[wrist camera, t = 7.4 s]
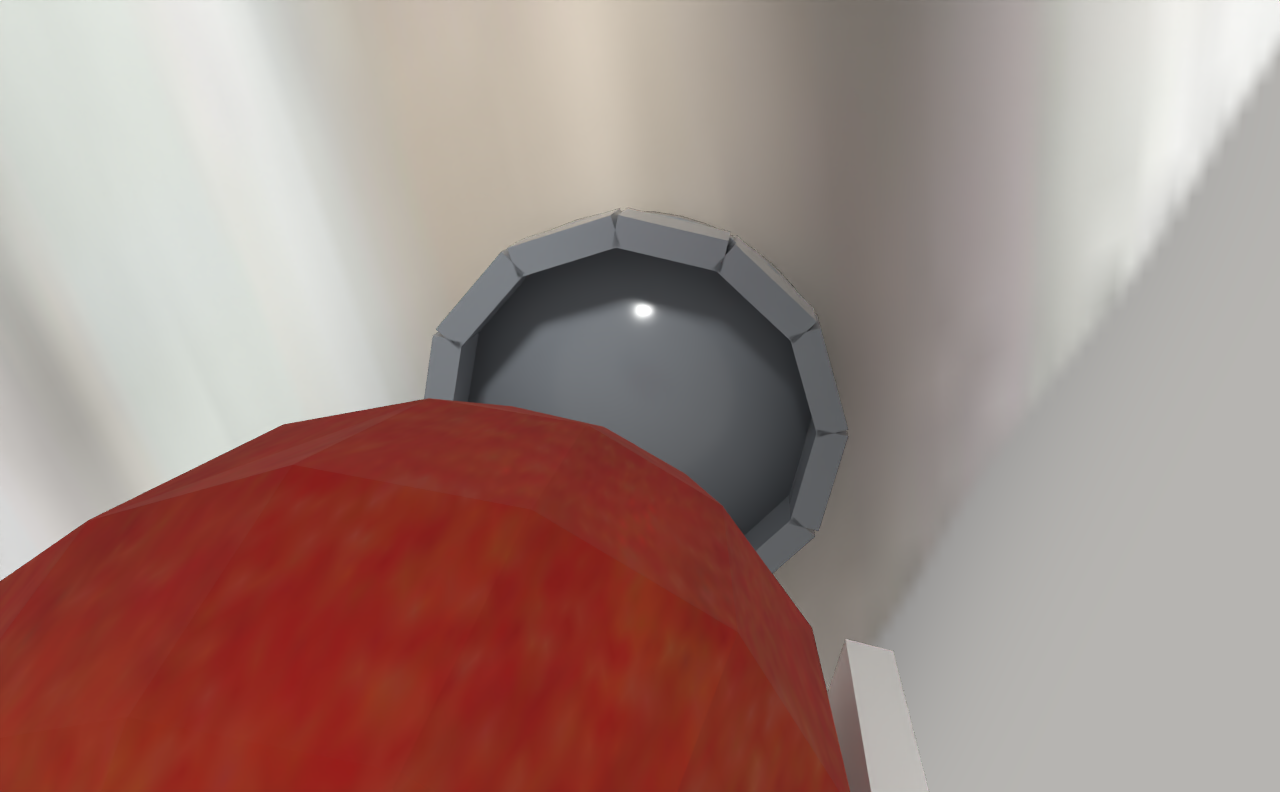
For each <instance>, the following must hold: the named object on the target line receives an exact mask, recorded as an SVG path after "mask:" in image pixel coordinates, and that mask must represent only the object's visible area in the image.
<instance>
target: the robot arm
mask: <svg viewBox="0 0 1280 792" xmlns="http://www.w3.org/2000/svg"><path fill="white" fill-rule="evenodd" d="M827 694H828V699H829V703H830V707H831V711H832V716H833V720H834V724H835V728H836V733H837V737H838V741H839V745H840V750H841V754H842V758H843V762H844V767H845V771H846V775H847V779H848V784H849V788H850V792H929V789H928V785H927V782H926V777H925V773H924V770H923V765H922V761H921V757H920V754H919V750H918V745H917V742H916V738H915V734H914V730H913V726H912V722H911V718H910V714H909V710H908V706H907V702H906V699H905V694H904V690H903V687H902V683H901V679H900V675H899V671H898V667H897V663H896V659H895V655H894V652H893V651H892V650H887V649H884V648H880V647H876V646H872V645H868V644H864V643H860V642H856V641H852V640H848V639H845V642H844V645H843V648H842V651H841V654H840V657H839V660H838V663H837V666H836V669H835V672H834V675H833V678H832V681H831V684H830V687H829V690H828V693H827Z"/></svg>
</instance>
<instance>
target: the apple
mask: <svg viewBox="0 0 1280 792" xmlns="http://www.w3.org/2000/svg"><path fill="white" fill-rule="evenodd" d="M0 792H850V788H849V784H848V779H847V775H846V771H845V767H844V762H843V758H842V754H841V750H840V745H839V741H838V737H837V733H836V728H835V724H834V720H833V716H832V711H831V707H830V703H829V699H828V694H827V690H826V686H825V681H824V677H823V673H822V669H821V664H820V660H819V656H818V652H817V647H816V643H815V639H814V635H813V630H812V627H811V626H810V625H809V623H808V622H807V621H806V619H805V618H804V616H803V615H802V614H801V612H800V611H799V610H798V608H797V607H796V606H795V604H794V603H793V601H792V600H791V599H790V597H789V596H788V595H787V593H786V592H785V591H784V589H783V588H782V586H781V585H780V584H779V582H778V581H777V580H776V578H775V577H774V575H773V574H772V573H771V571H770V570H769V569H768V567H767V566H766V565H765V563H764V562H763V560H762V559H761V558H760V556H759V555H758V554H757V552H756V551H755V550H754V548H753V547H752V545H751V544H750V543H749V541H748V540H747V539H746V537H745V536H744V534H743V533H742V532H741V530H740V529H739V528H738V526H737V525H736V524H735V522H734V521H733V519H732V518H731V517H730V515H729V514H728V513H727V511H726V510H725V509H724V507H723V506H722V505H721V504H720V503H719V502H718V501H716V500H715V499H714V498H713V497H712V496H711V495H709V494H708V493H707V492H706V491H705V490H704V489H703V488H701V487H700V486H699V485H698V484H697V483H696V482H694V481H693V480H692V479H691V478H690V477H689V476H687V475H686V474H685V473H683V472H681V471H680V470H678V469H676V468H675V467H673V466H671V465H669V464H668V463H666V462H664V461H662V460H661V459H659V458H657V457H655V456H654V455H652V454H650V453H649V452H647V451H645V450H643V449H642V448H640V447H638V446H636V445H635V444H633V443H631V442H630V441H628V440H626V439H624V438H623V437H621V436H619V435H617V434H616V433H614V432H612V431H610V430H609V429H607V428H605V427H603V426H598V425H594V424H589V423H585V422H580V421H576V420H571V419H567V418H562V417H558V416H554V415H549V414H545V413H540V412H536V411H531V410H527V409H522V408H518V407H513V406H504V405H494V404H483V403H473V402H463V401H452V400H442V399H432V398H428V399H423V400H417V401H412V402H406V403H401V404H395V405H389V406H384V407H378V408H373V409H367V410H362V411H356V412H351V413H345V414H339V415H334V416H328V417H323V418H317V419H312V420H306V421H300V422H295V423H289V424H284V425H281V426H279V427H277V428H275V429H273V430H271V431H269V432H267V433H265V434H263V435H261V436H259V437H257V438H255V439H253V440H251V441H249V442H247V443H245V444H243V445H241V446H239V447H237V448H235V449H233V450H231V451H229V452H227V453H224V454H222V455H220V456H218V457H216V458H214V459H212V460H210V461H208V462H206V463H204V464H202V465H200V466H198V467H196V468H194V469H192V470H190V471H188V472H186V473H184V474H182V475H180V476H178V477H176V478H174V479H172V480H170V481H168V482H165V483H163V484H161V485H159V486H157V487H155V488H153V489H151V490H149V491H147V492H145V493H143V494H141V495H139V496H137V497H135V498H133V499H131V500H129V501H127V502H125V503H123V504H121V505H119V506H117V507H115V508H113V509H111V510H109V511H106V512H104V513H102V514H100V515H98V516H96V517H94V518H92V519H90V520H88V521H87V522H85V523H84V524H82V525H81V526H79V527H78V528H77V529H75V530H74V531H72V532H71V533H69V534H68V535H66V536H65V537H64V538H62V539H61V540H59V541H58V542H56V543H55V544H53V545H52V546H51V547H49V548H48V549H46V550H45V551H43V552H42V553H40V554H39V555H38V556H36V557H35V558H33V559H32V560H30V561H29V562H27V563H26V564H25V565H23V566H22V567H20V568H19V569H17V570H16V571H14V572H13V573H12V574H10V575H9V576H7V577H6V578H4V579H3V580H1V581H0Z"/></svg>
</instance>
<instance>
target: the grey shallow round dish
mask: <svg viewBox="0 0 1280 792" xmlns="http://www.w3.org/2000/svg"><path fill="white" fill-rule="evenodd" d="M436 330H437V331H438V332H437V333H436V334H434V335H433V339H432V346H431V353H430V361H429V368H428V375H427V382H426V389H425V396H424V399H428V398H432V399H442V400H452V401H463V402H473V403H483V404H494V405H504V406H513V407H518V408H522V409H527V410H531V411H536V412H540V413H545V414H549V415H554V416H558V417H562V418H567V419H571V420H576V421H580V422H585V423H589V424H594V425H598V426H603V427H605V428H607V429H609V430H610V431H612V432H614V433H616V434H617V435H619V436H621V437H623V438H624V439H626V440H628V441H630V442H631V443H633V444H635V445H636V446H638V447H640V448H642V449H643V450H645V451H647V452H649V453H650V454H652V455H654V456H655V457H657V458H659V459H661V460H662V461H664V462H666V463H668V464H669V465H671V466H673V467H675V468H676V469H678V470H680V471H681V472H683V473H685V474H686V475H687V476H689V477H690V478H691V479H692V480H693V481H694V482H696V483H697V484H698V485H699V486H700V487H701V488H703V489H704V490H705V491H706V492H707V493H708V494H709V495H711V496H712V497H713V498H714V499H715V500H716V501H718V502H719V503H720V504H721V505H722V506H723V507H724V509H725V510H726V511H727V513H728V514H729V515H730V517H731V518H732V519H733V521H734V522H735V524H736V525H737V526H738V528H739V529H740V530H741V532H742V533H743V534H744V536H745V537H746V539H747V540H748V541H749V543H750V544H751V545H752V547H753V548H754V550H755V551H756V552H757V554H758V555H759V556H760V558H761V559H762V560H763V562H764V563H765V565H766V566H767V567H768V569H769V570H770V571H771V573H774V572H775V571H776V570H777V569H778V568H779V567H780V566H782V565H783V564H784V563H785V562H786V561H787V560H788V559H790V558H791V557H792V556H793V555H794V554H795V553H797V552H798V551H799V550H800V549H801V548H802V547H803V546H805V545H806V544H807V543H808V542H809V541H810V540H811V539H813V538H814V537H815V534H814V530H817V531H819V528H820V525H821V522H822V518H823V515H824V512H825V509H826V506H827V502H828V499H829V496H830V493H831V490H832V486H833V483H834V480H835V477H836V474H837V470H838V467H839V464H840V461H841V458H842V454H843V451H844V448H845V445H846V442H847V438H848V434H847V431H846V430H848V427H847V423H846V419H845V416H844V412H843V408H842V404H841V401H840V397H839V393H838V390H837V386H836V382H835V379H834V375H833V371H832V368H831V364H830V360H829V356H828V353H827V349H826V345H825V342H824V338H823V334H822V331H821V327H820V323H819V320H818V316H817V314H815V312H814V309H813V307H812V306H811V305H810V304H809V303H808V302H807V301H806V300H805V299H804V298H803V297H802V296H801V295H799V294H798V292H797V291H796V290H795V288H794V287H793V285H792V284H791V283H790V282H789V281H788V280H787V279H786V278H785V277H784V276H783V275H782V273H781V272H780V271H779V270H778V269H777V268H776V267H775V266H774V265H773V264H772V263H770V262H769V261H768V260H767V259H765V258H764V257H763V256H762V255H761V254H759V253H758V252H757V251H756V250H755V249H753V248H752V247H750V246H748V245H747V244H746V243H745V242H744V241H743V240H742V239H741V238H739V237H738V236H736V237H734V236H732V235H730V232H729V231H725V230H721V229H717V228H715V227H713V226H711V225H709V224H706V223H703V222H699V221H696V220H693V219H690V218H686V217H683V216H678V215H672V214H666V213H660V212H650V211H639V210H635V209H631V208H626V209H625V210H624V211H622V212H621V210H620V208H618V209H615V210H612V211H609V212H606V213H602V214H598V215H594V216H590V217H586V218H582V219H578V220H575V221H572V222H570V223H567V224H565V225H562V226H560V227H557V228H555V229H552V230H549V231H546V232H543V233H540V234H536V235H533V236H530V237H527V238H524V239H522V240H520V241H518V242H517V243H515V244H513V245H511V246H510V247H508V248H507V249H505V250H504V251H502V252H501V253H500V254H499V255H498V256H497V258H496V259H495V260H494V261H493V262H492V263H491V265H490V266H489V267H488V268H487V269H486V271H485V272H484V273H483V274H482V275H481V276H480V278H479V279H478V280H477V281H476V282H475V283H474V285H473V286H472V287H471V288H470V289H469V291H468V292H467V293H466V294H465V295H464V296H463V298H462V299H461V300H460V301H459V302H458V304H457V305H456V306H455V307H454V308H453V309H452V311H451V312H450V313H449V314H448V315H447V317H446V318H445V319H444V320H443V321H442V322H441V324H440V325H439V326H438V327H437V328H436Z"/></svg>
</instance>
